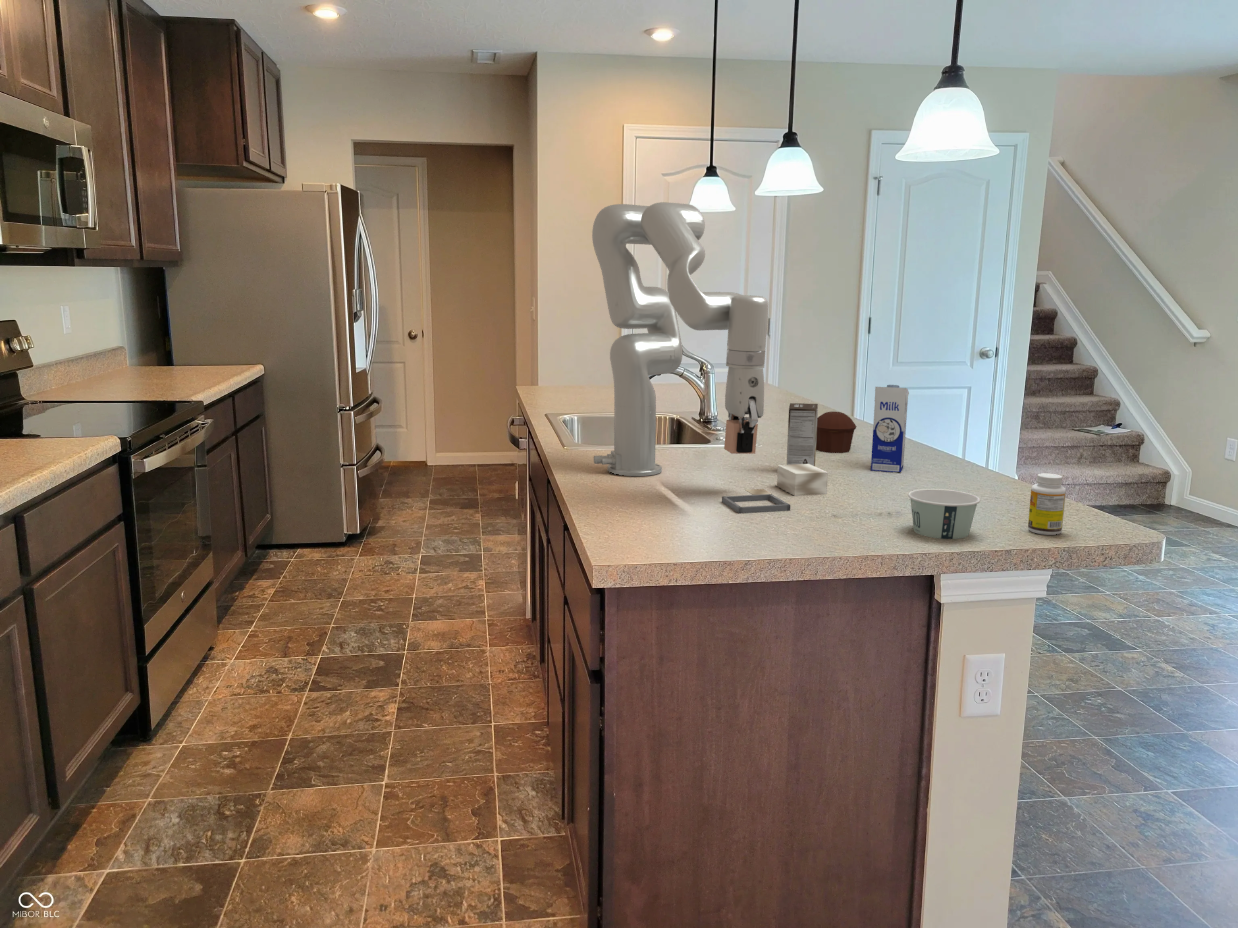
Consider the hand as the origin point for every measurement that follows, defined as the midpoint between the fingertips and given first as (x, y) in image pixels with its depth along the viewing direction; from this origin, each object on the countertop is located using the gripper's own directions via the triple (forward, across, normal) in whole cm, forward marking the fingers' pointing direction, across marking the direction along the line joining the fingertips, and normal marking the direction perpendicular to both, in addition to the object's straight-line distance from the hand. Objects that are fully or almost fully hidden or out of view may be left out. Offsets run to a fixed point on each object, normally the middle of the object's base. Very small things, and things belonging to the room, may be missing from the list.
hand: (739, 448), depth 183 cm
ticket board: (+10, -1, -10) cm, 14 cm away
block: (+1, 0, 0) cm, 1 cm away
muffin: (+12, +46, -44) cm, 64 cm away
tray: (+10, -12, +1) cm, 16 cm away
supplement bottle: (+8, -36, -44) cm, 58 cm away
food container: (+9, -32, -26) cm, 42 cm away
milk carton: (+10, +20, -45) cm, 50 cm away
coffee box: (+11, +18, -22) cm, 30 cm away
